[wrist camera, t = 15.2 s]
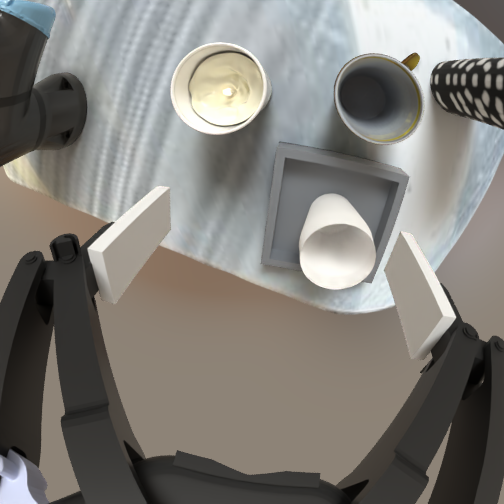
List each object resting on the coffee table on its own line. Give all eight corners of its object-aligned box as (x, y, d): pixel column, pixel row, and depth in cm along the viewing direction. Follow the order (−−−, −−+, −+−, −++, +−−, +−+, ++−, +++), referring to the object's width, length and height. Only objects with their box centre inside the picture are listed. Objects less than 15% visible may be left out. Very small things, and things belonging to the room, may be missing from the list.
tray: (264, 249, 46) (260, 263, 43) (279, 141, 36) (276, 147, 33) (367, 268, 45) (371, 283, 41) (400, 168, 35) (409, 176, 32)
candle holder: (213, 126, 37) (179, 142, 27) (202, 63, 32) (163, 56, 22) (282, 118, 35) (272, 128, 25) (272, 51, 30) (258, 34, 20)
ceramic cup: (366, 146, 34) (385, 163, 26) (311, 98, 32) (314, 100, 24) (421, 85, 28) (454, 86, 19) (367, 35, 26) (387, 19, 17)
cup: (362, 236, 41) (377, 285, 31) (306, 244, 43) (304, 294, 33) (357, 181, 36) (375, 216, 26) (295, 190, 39) (291, 228, 29)
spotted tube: (431, 53, 24) (518, 42, 8) (475, 72, 23) (567, 83, 7) (428, 105, 29) (516, 129, 12) (471, 121, 28) (561, 159, 11)
